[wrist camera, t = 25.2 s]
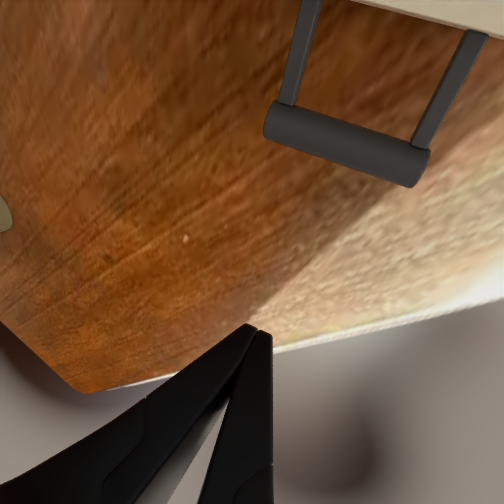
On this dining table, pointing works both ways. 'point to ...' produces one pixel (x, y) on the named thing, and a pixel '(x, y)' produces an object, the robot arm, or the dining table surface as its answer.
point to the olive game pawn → (5, 216)
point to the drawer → (365, 140)
